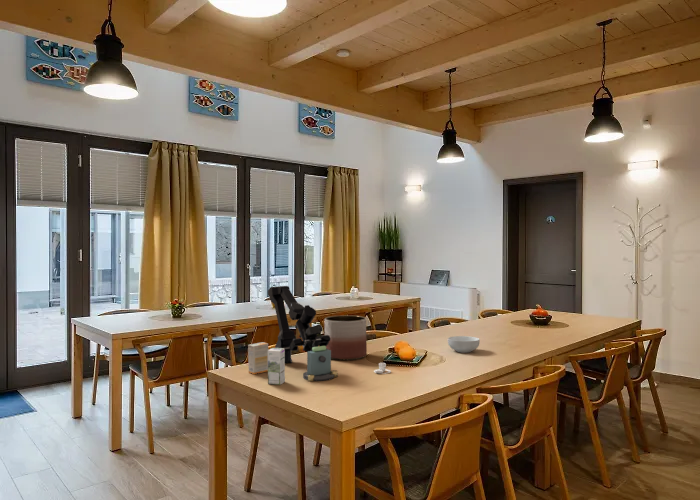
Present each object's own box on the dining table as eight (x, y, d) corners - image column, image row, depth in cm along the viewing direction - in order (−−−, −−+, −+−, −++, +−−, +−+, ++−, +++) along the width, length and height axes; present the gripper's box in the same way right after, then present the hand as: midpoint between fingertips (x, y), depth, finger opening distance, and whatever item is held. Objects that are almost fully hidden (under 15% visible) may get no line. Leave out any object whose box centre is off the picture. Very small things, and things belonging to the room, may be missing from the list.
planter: (334, 363, 249) (333, 322, 249) (318, 354, 269) (318, 316, 269) (373, 358, 258) (373, 319, 258) (355, 350, 278) (355, 314, 278)
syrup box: (285, 381, 216) (285, 347, 216) (280, 385, 210) (280, 350, 210) (272, 380, 217) (272, 347, 217) (267, 384, 211) (267, 350, 211)
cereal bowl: (477, 348, 282) (477, 335, 282) (481, 354, 265) (481, 341, 265) (446, 347, 284) (446, 335, 284) (449, 354, 267) (449, 341, 267)
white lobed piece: (378, 375, 226) (378, 366, 226) (368, 372, 233) (368, 363, 233) (394, 373, 231) (394, 364, 231) (384, 369, 237) (384, 360, 237)
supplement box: (262, 369, 237) (262, 341, 236) (268, 371, 233) (268, 343, 233) (247, 372, 231) (247, 344, 231) (253, 374, 227) (253, 345, 227)
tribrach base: (295, 375, 226) (295, 369, 226) (323, 370, 234) (323, 365, 234) (312, 383, 213) (312, 377, 213) (341, 377, 221) (341, 372, 221)
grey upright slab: (307, 374, 222) (307, 347, 221) (326, 370, 227) (326, 344, 227) (313, 377, 217) (313, 349, 217) (333, 373, 223) (333, 346, 222)
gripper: (292, 321, 224) (304, 350, 214) (328, 317, 234) (341, 345, 225) (284, 336, 230) (296, 365, 221) (320, 332, 240) (332, 359, 231)
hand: (316, 358), depth 224 cm, fingers closed, pressing on grey upright slab
